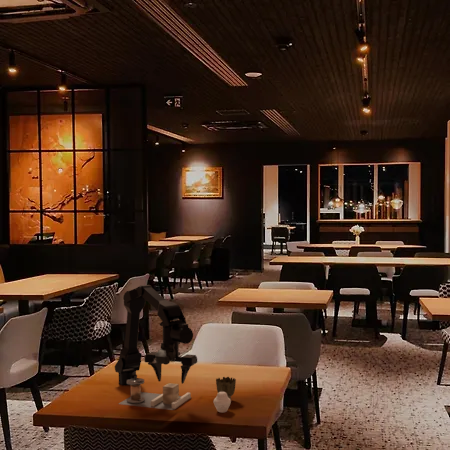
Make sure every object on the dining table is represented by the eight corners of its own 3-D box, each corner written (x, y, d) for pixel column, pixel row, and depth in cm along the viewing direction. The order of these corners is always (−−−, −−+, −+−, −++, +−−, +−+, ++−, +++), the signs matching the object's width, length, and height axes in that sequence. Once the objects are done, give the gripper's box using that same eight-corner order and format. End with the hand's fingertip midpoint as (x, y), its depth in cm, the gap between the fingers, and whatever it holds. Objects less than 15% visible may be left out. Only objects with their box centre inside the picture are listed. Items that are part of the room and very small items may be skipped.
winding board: (118, 407, 231) (117, 398, 231) (139, 394, 246) (139, 387, 246) (173, 413, 223) (173, 404, 223) (191, 400, 238) (191, 392, 238)
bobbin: (123, 402, 232) (123, 381, 232) (132, 397, 238) (132, 377, 238) (139, 404, 230) (139, 383, 230) (147, 399, 236) (147, 378, 236)
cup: (221, 404, 233) (221, 382, 233) (212, 399, 240) (212, 378, 239) (239, 401, 237) (239, 380, 236) (230, 396, 243) (230, 375, 243)
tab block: (162, 403, 231) (162, 386, 231) (168, 399, 236) (168, 383, 236) (173, 404, 230) (172, 387, 230) (178, 400, 235) (178, 384, 235)
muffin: (233, 412, 224) (233, 393, 223) (216, 414, 222) (216, 394, 222) (228, 407, 230) (227, 388, 229) (211, 409, 228) (211, 389, 228)
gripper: (137, 342, 228) (137, 385, 229) (185, 345, 222) (185, 390, 222) (151, 336, 239) (151, 378, 239) (197, 339, 232) (198, 382, 232)
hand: (171, 382), depth 233 cm, fingers open, 9 cm apart
